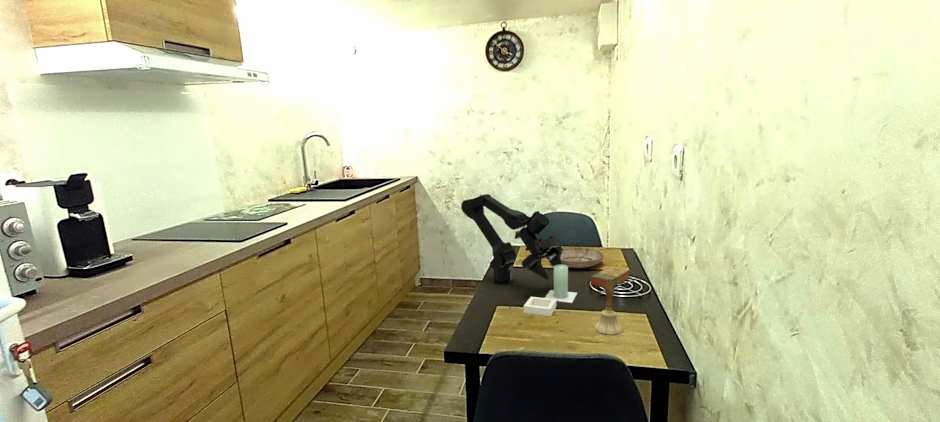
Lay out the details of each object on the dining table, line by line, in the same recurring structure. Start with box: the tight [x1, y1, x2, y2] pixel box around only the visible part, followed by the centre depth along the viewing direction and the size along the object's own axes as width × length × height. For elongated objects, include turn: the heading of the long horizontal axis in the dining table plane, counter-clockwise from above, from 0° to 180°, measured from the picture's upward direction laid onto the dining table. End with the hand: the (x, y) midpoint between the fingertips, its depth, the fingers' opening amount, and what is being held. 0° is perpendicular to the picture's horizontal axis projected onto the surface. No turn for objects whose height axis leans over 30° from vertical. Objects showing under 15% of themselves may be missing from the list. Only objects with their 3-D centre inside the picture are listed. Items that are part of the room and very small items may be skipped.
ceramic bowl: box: [560, 247, 605, 269], centre depth 209 cm, size 23×24×5 cm
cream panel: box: [544, 289, 578, 304], centre depth 170 cm, size 10×10×1 cm
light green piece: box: [553, 265, 569, 298], centre depth 169 cm, size 5×5×11 cm
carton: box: [590, 266, 630, 289], centre depth 185 cm, size 8×16×4 cm, turn 137°
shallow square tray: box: [523, 296, 557, 317], centre depth 159 cm, size 9×9×3 cm
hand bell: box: [594, 279, 623, 336], centre depth 142 cm, size 8×8×16 cm
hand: (555, 275), depth 170 cm, fingers open, 9 cm apart
